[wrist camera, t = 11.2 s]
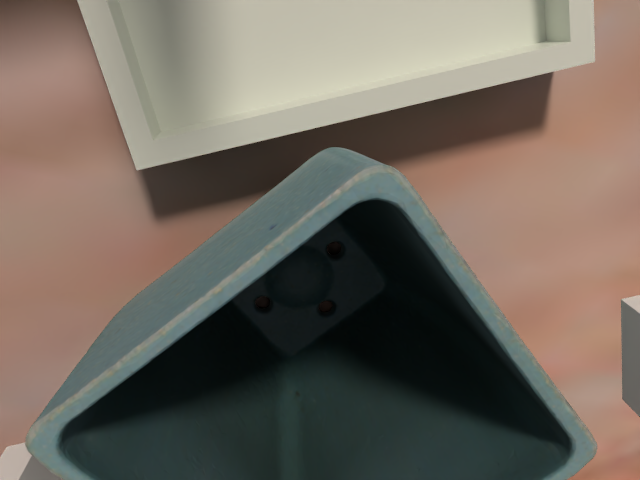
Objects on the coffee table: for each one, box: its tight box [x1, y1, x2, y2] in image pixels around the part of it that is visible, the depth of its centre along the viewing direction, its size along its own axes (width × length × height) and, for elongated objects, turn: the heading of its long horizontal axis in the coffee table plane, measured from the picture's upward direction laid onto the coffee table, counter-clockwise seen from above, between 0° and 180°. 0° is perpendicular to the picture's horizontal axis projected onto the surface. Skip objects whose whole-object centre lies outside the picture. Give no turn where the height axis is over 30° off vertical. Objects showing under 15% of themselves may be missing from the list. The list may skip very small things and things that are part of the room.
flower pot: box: [25, 147, 597, 480], centre depth 15 cm, size 9×9×9 cm
